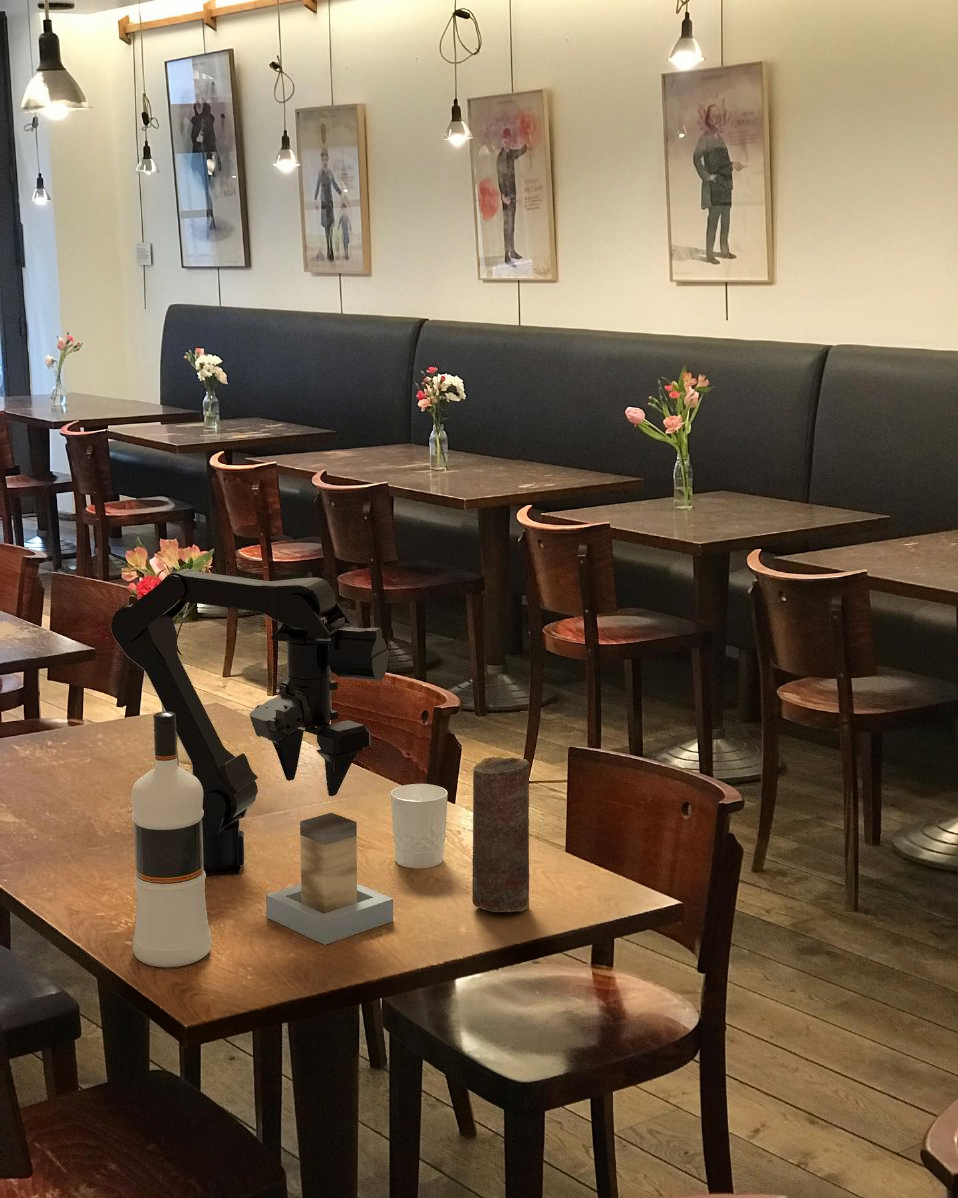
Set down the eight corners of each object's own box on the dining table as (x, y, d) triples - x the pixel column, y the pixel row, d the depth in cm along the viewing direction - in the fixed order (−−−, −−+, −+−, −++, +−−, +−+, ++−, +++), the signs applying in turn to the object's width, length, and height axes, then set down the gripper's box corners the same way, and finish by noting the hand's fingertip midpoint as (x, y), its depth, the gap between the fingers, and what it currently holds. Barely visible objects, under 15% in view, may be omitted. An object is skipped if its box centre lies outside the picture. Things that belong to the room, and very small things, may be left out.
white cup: (440, 872, 220) (440, 803, 218) (384, 868, 221) (384, 799, 219) (452, 853, 227) (453, 785, 225) (399, 849, 229) (398, 782, 227)
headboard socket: (266, 917, 204) (265, 894, 203) (334, 895, 211) (333, 873, 211) (324, 945, 195) (324, 921, 195) (393, 921, 203) (393, 898, 202)
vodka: (117, 956, 191) (107, 714, 186) (176, 932, 199) (168, 698, 193) (168, 977, 186) (160, 727, 180) (227, 952, 193) (221, 711, 187)
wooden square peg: (301, 919, 203) (299, 821, 201) (332, 908, 207) (331, 812, 204) (326, 930, 200) (324, 831, 197) (357, 919, 203) (356, 822, 201)
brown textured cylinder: (509, 925, 202) (510, 772, 198) (460, 913, 205) (460, 763, 202) (539, 906, 208) (541, 757, 204) (491, 894, 212) (492, 749, 208)
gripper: (217, 672, 212) (220, 784, 215) (303, 698, 199) (305, 817, 202) (285, 659, 220) (287, 768, 223) (372, 683, 207) (373, 799, 210)
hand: (311, 787), depth 214 cm, fingers open, 9 cm apart
